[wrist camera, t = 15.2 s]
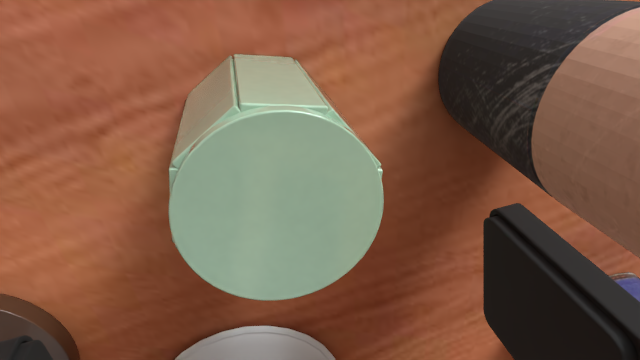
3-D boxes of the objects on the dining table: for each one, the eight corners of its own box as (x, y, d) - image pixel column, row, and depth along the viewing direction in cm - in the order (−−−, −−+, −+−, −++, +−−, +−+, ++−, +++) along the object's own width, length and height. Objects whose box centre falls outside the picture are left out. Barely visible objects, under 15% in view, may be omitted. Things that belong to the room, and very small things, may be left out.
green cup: (155, 125, 22) (118, 217, 14) (264, 22, 21) (290, 60, 13) (257, 215, 25) (273, 332, 17) (357, 130, 24) (423, 213, 16)
